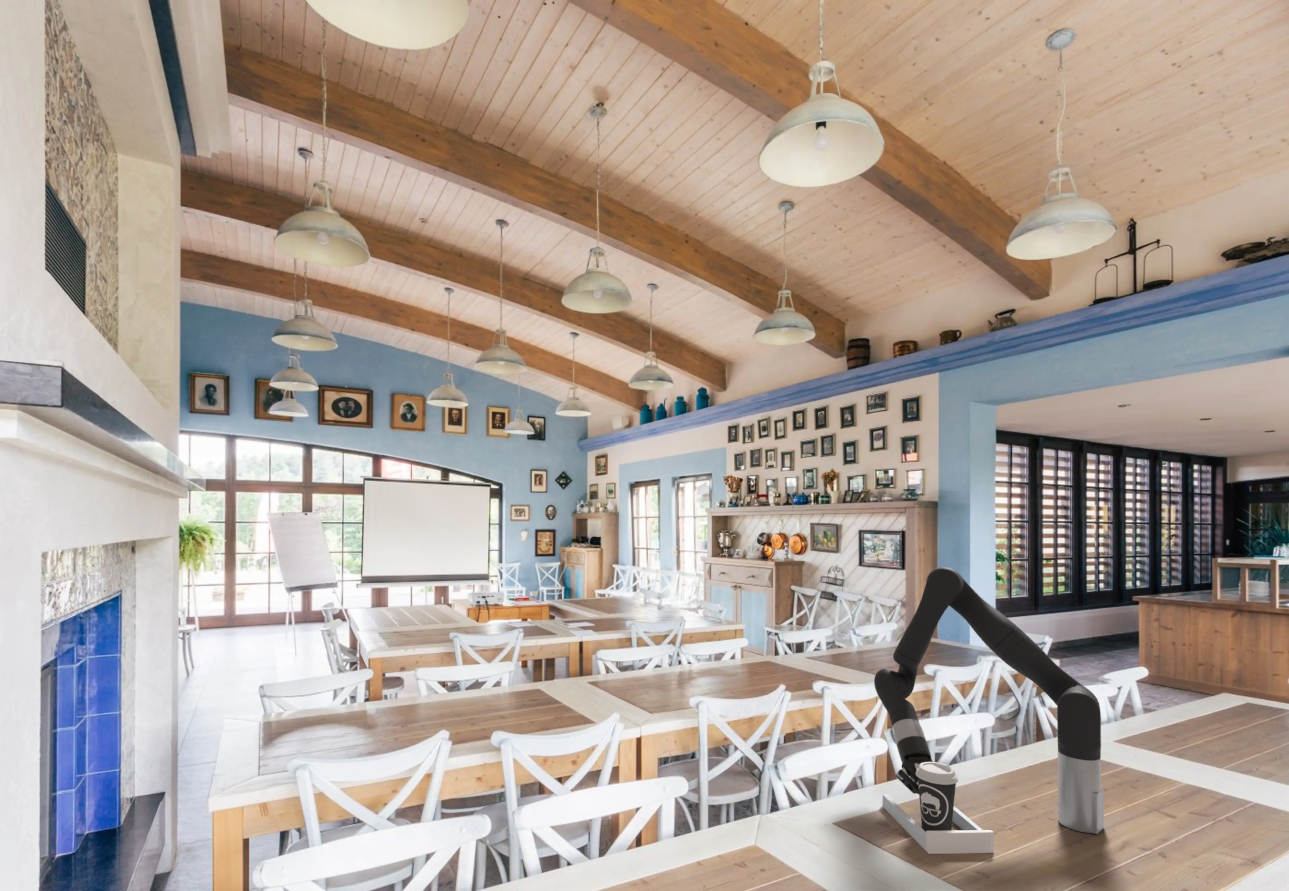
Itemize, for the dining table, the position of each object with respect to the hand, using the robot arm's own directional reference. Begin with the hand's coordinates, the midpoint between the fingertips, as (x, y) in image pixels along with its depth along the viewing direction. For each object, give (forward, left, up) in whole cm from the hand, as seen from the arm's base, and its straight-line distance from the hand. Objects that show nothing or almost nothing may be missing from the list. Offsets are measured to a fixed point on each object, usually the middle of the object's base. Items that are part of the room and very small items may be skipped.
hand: (932, 809), depth 179 cm
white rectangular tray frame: (0, 0, -4) cm, 4 cm away
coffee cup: (-2, +2, -4) cm, 5 cm away
